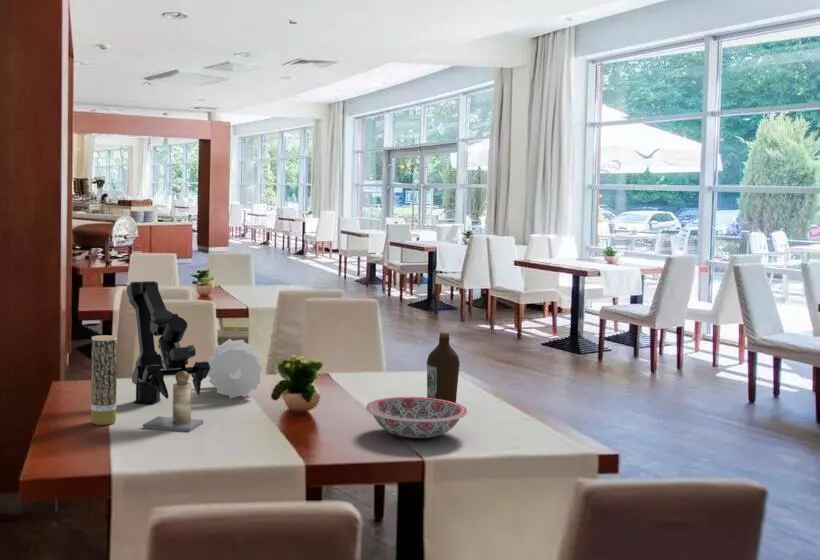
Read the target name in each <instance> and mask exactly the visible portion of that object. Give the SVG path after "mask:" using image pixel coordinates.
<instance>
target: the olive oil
mask: <svg viewBox="0 0 820 560" xmlns="http://www.w3.org/2000/svg"><path fill="white" fill-rule="evenodd" d="M459 372H460V358H459V355H458V353H456V351H455V350H454V349H453V347H452V346H451V345H450V332H445V331H442V332H439V337H438V345H437V346H436V347H434V349H432V350H431V352H430V353H429V354H428V357H427V359H426V398H435V399H441V400H447V401H451V402H454V403H457V397H458V396H457V394H458V393H457V392H458V385H459V384H458V383H459Z"/></svg>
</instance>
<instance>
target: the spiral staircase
mask: <svg viewBox="0 0 820 560" xmlns="http://www.w3.org/2000/svg"><path fill="white" fill-rule="evenodd" d="M255 348H256V347H255V346H253V345H252V344H249V343H247V342H245V340H244V339H238V340H237V339H235V340H232V339H231V338H229V339H227V340H226V341H225V342H223V343H221V345H220V344H217V345H216V346H215V349H214V351H213V353H212V355H211V356H209V357H208V359H209V361H207V362H208V363H209V364H210V370H209V372H208V377H209V378H210V379H209V380H208V382H209V383H210V384H211V385H213V387H214V388H215V389H216V394H220V395H224V396H229V397H228V398H229V399H233V398H237V397H241V396H242V397H243V398H245V397H246V396H247V395H249V393H250V392H252V391H253V390H255V391H256V390H257V389H258V385H259V384H261V378H260V377H261V374H260V373H261V372H262V371H263V367H262V366H261V364H260V361H261V358H260V356H259V355H258V354H257V352H256V351H255Z"/></svg>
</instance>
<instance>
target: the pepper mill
mask: <svg viewBox="0 0 820 560" xmlns="http://www.w3.org/2000/svg"><path fill="white" fill-rule="evenodd" d="M174 377H175V381H176V383H173V384H172V418H173V423H175V424H187V423H190V420H191V419H192V418H191V414H192V413H191V412H192V411H191V410H192V408H191V407H192V383H190V382H188V381H189V379H190V374H188V373H187V372H186V371H179V372H178V373H177V374H176V375H174Z"/></svg>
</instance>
